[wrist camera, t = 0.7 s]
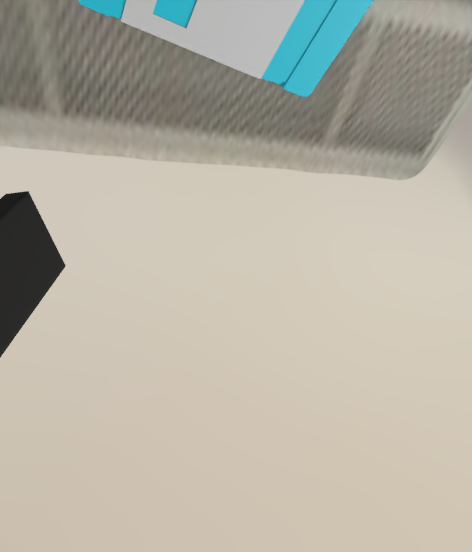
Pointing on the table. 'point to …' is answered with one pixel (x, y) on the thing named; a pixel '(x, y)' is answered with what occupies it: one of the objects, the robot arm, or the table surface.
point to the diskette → (250, 32)
